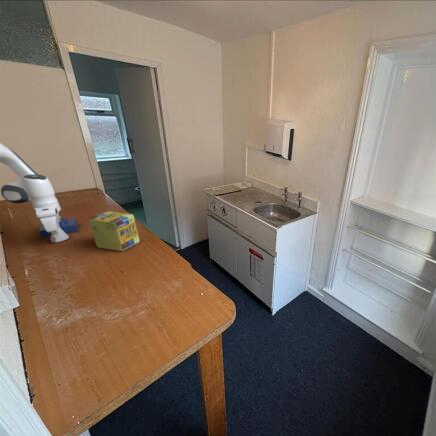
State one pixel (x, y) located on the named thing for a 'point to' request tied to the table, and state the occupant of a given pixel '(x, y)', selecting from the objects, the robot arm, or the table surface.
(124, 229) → the protein box
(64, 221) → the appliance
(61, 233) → the flask
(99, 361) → the table surface
